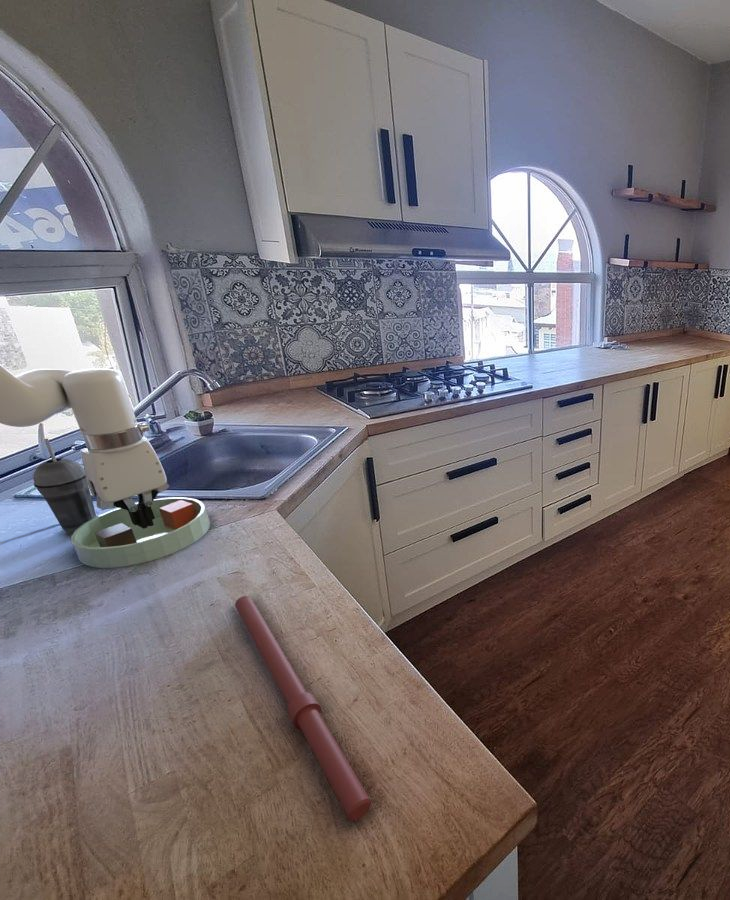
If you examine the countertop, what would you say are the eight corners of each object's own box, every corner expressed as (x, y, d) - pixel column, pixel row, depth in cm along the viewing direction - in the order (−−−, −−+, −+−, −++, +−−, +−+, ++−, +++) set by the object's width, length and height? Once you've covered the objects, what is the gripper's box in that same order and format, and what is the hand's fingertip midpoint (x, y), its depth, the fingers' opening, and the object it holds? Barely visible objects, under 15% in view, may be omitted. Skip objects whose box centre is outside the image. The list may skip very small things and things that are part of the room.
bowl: (108, 583, 85) (99, 560, 83) (61, 550, 93) (52, 529, 91) (230, 531, 101) (224, 512, 99) (181, 507, 109) (175, 489, 107)
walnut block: (111, 557, 91) (104, 538, 89) (101, 551, 92) (94, 532, 91) (138, 546, 94) (131, 528, 92) (128, 540, 96) (121, 522, 94)
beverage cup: (100, 518, 104) (64, 428, 96) (114, 528, 101) (78, 436, 93) (51, 534, 98) (9, 439, 91) (64, 545, 95) (21, 448, 87)
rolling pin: (378, 809, 52) (374, 789, 51) (347, 833, 50) (342, 812, 49) (256, 605, 81) (252, 589, 80) (233, 614, 79) (228, 598, 78)
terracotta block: (176, 530, 100) (170, 512, 98) (164, 525, 101) (158, 508, 100) (198, 521, 103) (192, 503, 102) (186, 516, 105) (180, 499, 103)
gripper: (153, 422, 98) (179, 504, 105) (48, 446, 86) (86, 537, 93) (172, 429, 95) (198, 514, 102) (66, 455, 83) (105, 549, 90)
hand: (145, 525), depth 98 cm, fingers closed
